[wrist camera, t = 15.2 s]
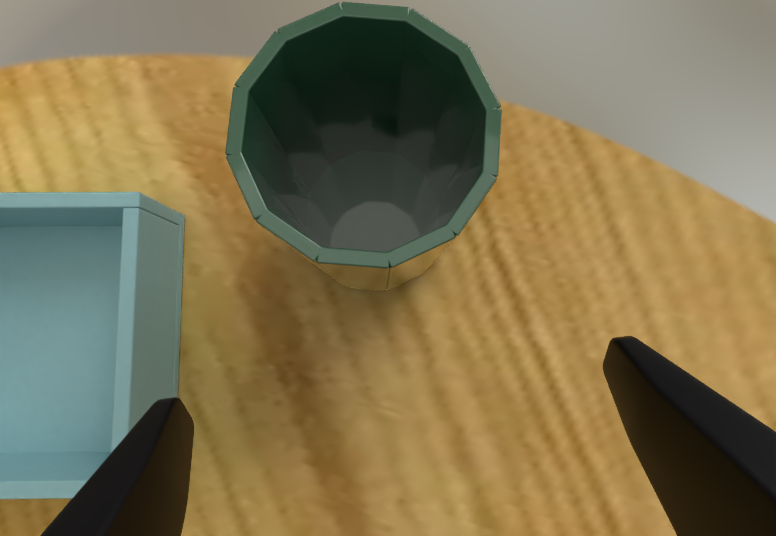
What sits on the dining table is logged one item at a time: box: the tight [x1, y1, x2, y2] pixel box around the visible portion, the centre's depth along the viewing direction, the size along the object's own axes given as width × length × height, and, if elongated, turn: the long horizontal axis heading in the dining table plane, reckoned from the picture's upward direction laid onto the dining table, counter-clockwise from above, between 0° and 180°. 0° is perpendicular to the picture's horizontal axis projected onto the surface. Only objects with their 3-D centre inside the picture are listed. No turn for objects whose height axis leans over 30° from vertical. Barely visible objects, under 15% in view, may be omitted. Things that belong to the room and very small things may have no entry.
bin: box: [0, 192, 185, 499], centre depth 19 cm, size 11×11×4 cm
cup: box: [225, 2, 502, 291], centre depth 16 cm, size 7×7×10 cm
